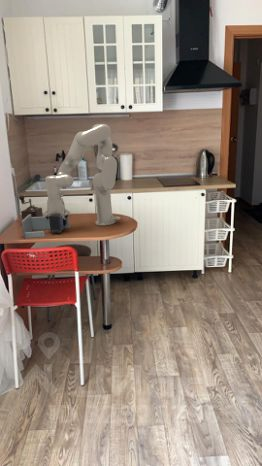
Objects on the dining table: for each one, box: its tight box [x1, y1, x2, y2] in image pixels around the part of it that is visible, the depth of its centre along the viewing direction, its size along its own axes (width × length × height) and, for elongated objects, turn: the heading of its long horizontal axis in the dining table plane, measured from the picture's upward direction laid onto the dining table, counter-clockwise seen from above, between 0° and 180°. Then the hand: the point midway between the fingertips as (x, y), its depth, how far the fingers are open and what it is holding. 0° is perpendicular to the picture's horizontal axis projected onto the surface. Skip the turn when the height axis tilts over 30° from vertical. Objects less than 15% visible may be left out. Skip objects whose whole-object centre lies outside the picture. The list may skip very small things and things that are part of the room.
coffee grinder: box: [18, 195, 44, 221], centre depth 252 cm, size 16×11×18 cm
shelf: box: [20, 214, 71, 239], centre depth 227 cm, size 24×17×10 cm
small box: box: [49, 213, 67, 234], centre depth 226 cm, size 11×6×10 cm, turn 169°
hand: (58, 225), depth 227 cm, fingers closed on small box, 7 cm apart
